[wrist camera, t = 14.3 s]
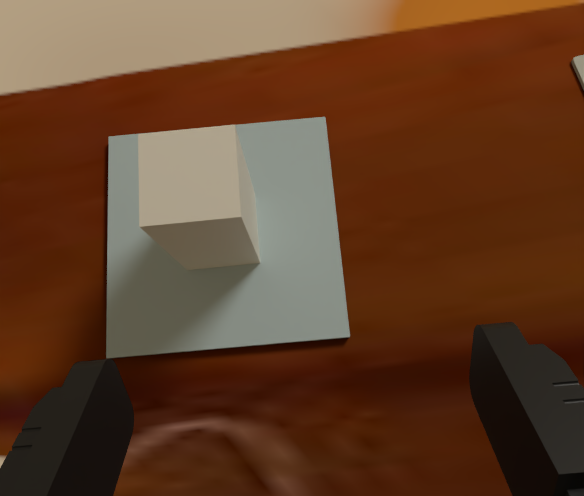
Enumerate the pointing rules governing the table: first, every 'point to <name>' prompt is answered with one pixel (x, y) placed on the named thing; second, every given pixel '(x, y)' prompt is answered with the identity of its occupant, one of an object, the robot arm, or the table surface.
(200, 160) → the beige block
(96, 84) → the table surface
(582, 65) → the light switch
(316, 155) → the tile
